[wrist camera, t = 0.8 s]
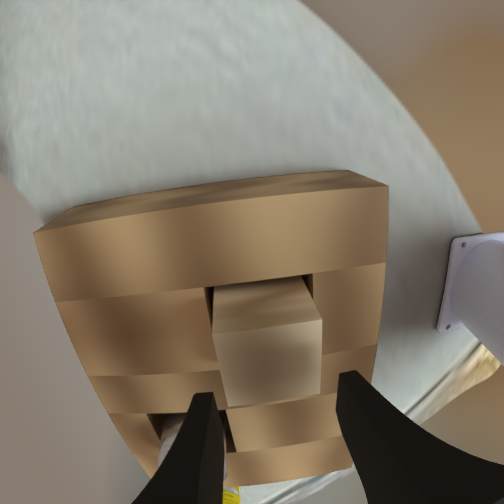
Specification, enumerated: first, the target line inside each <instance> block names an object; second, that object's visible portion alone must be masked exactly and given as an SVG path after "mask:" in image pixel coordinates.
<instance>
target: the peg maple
mask: <svg viewBox="0 0 504 504" xmlns="http://www.w3.org/2000/svg"><path fill="white" fill-rule="evenodd" d="M212 336H213V341H214V346H215V350H216V355H217V360H218V364H219V369H220V373H221V378H222V382H223V387H224V391H225V395H226V399H227V404H228V407H231V406H240V405H249V404H257V403H265V402H272V401H279V400H286V399H292V398H298V397H304V396H309V395H315V394H320V384H321V357H322V318H321V316H320V314H319V311H318V309H317V307H316V305H315V303H314V301H313V299H312V297H311V295H310V293H309V291H308V289H307V287H306V285H305V283H304V281H303V279H302V277H301V275H297V276H289V277H282V278H274V279H267V280H259V281H251V282H243V283H235V284H227V285H219V286H214V301H213V324H212Z"/></svg>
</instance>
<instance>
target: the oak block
mask: <svg viewBox="0 0 504 504" xmlns="http://www.w3.org/2000/svg"><path fill="white" fill-rule="evenodd" d="M388 199H389V186H387V185H385V184H382V183H380V182H378V181H375V180H373V179H370V178H367V177H365V176H362V175H360V174H357V173H355V172H352V171H349V170H342V171H327V172H314V173H302V174H291V175H280V176H270V177H260V178H251V179H242V180H234V181H226V182H218V183H210V184H203V185H195V186H188V187H182V188H175V189H168V190H162V191H156V192H150V193H144V194H138V195H132V196H126V197H121V198H115V199H110V200H105V201H99V202H94V203H89V204H84V205H80V206H75V207H73V208H72V209H70V210H68V211H67V212H65V213H64V214H62V215H60V216H59V217H57V218H56V219H54V220H52V221H51V222H49V223H48V224H46V225H45V226H43V227H41V228H40V229H38V230H37V231H35V232H34V233H33V234H34V238H35V241H36V245H37V248H38V252H39V255H40V259H41V262H42V265H43V268H44V271H45V274H46V277H47V280H48V283H49V286H50V289H51V292H52V294H53V297H54V299H55V302H56V305H57V308H58V310H59V313H60V315H61V318H62V320H63V323H64V325H65V328H66V330H67V332H68V335H69V337H70V339H71V342H72V344H73V346H74V348H75V350H76V353H77V355H78V357H79V359H80V361H81V363H82V365H83V368H84V369H85V372H86V374H87V376H88V377H89V380H90V382H91V383H92V385H93V387H94V389H95V391H96V393H97V395H98V397H99V399H100V400H101V402H102V404H103V406H104V408H105V409H106V411H107V413H108V415H109V416H110V418H111V420H112V421H113V423H114V425H115V426H116V428H117V430H118V431H119V433H120V434H121V436H122V438H123V439H124V441H125V442H126V444H127V445H128V447H129V449H130V450H131V452H132V453H133V455H134V456H135V458H136V459H137V461H138V462H139V463H140V465H141V466H142V468H143V469H144V471H145V472H146V473H147V475H148V476H149V478H150V479H151V478H152V477H153V475H154V474H155V472H156V471H157V465H158V457H159V450H160V442H161V435H162V428H163V421H164V415H165V413H183V412H187V411H188V409H189V406H190V403H191V400H192V397H193V395H194V394H195V393H203V392H213V393H214V397H215V401H216V404H217V408H218V410H224V412H225V431H226V458H227V478H226V479H225V480H224V481H223V488H224V487H238V486H249V485H258V484H267V483H274V482H281V481H288V480H294V479H300V478H305V477H311V476H316V475H321V474H325V473H330V472H334V471H339V470H343V469H347V468H351V467H352V464H353V460H352V457H351V455H350V453H349V450H348V448H347V445H346V443H345V440H344V438H343V436H342V433H341V429H340V426H339V422H338V418H337V414H336V411H335V409H336V400H337V390H338V379H339V373H342V372H347V371H352V370H357V371H358V372H359V373H360V374H361V375H362V376H363V377H364V378H365V379H366V380H367V381H368V382H369V383H370V384H371V380H372V374H373V368H374V362H375V356H376V350H377V343H378V336H379V328H380V320H381V312H382V303H383V293H384V282H385V269H386V255H387V236H388ZM297 275H301V277H302V279H303V281H304V283H305V285H306V287H307V289H308V291H309V293H310V295H311V297H312V299H313V301H314V303H315V305H316V307H317V309H318V311H319V314H320V316H321V318H322V357H321V384H320V394H315V395H309V396H304V397H298V398H292V399H286V400H279V401H272V402H265V403H257V404H249V405H240V406H231V407H228V404H227V399H226V395H225V391H224V387H223V382H222V378H221V373H220V369H219V364H218V360H217V355H216V350H215V346H214V341H213V336H212V324H213V301H214V286H219V285H227V284H235V283H243V282H251V281H259V280H267V279H274V278H282V277H289V276H297Z"/></svg>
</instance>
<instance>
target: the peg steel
mask: <svg viewBox="0 0 504 504" xmlns="http://www.w3.org/2000/svg"><path fill="white" fill-rule="evenodd" d="M218 412H219V415H220V419H221V422H222V426H223V436H224V450H225V456H224V480H225V479H226V478H227V458H226V431H225V412H224V410H218ZM186 414H187V412H183V413H165V415H164V421H163V428H162V435H161V442H160V450H159V457H158V465H157V469H158V468H159V466H160V465H161V463H162V461H163V460H164V458H165V456H166V454H167V453H168V451H169V449H170V447H171V446H172V444H173V442H174V440H175V438H176V436H177V434H178V431H179V429H180V427H181V425H182V423H183V421H184V418H185V416H186Z"/></svg>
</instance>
